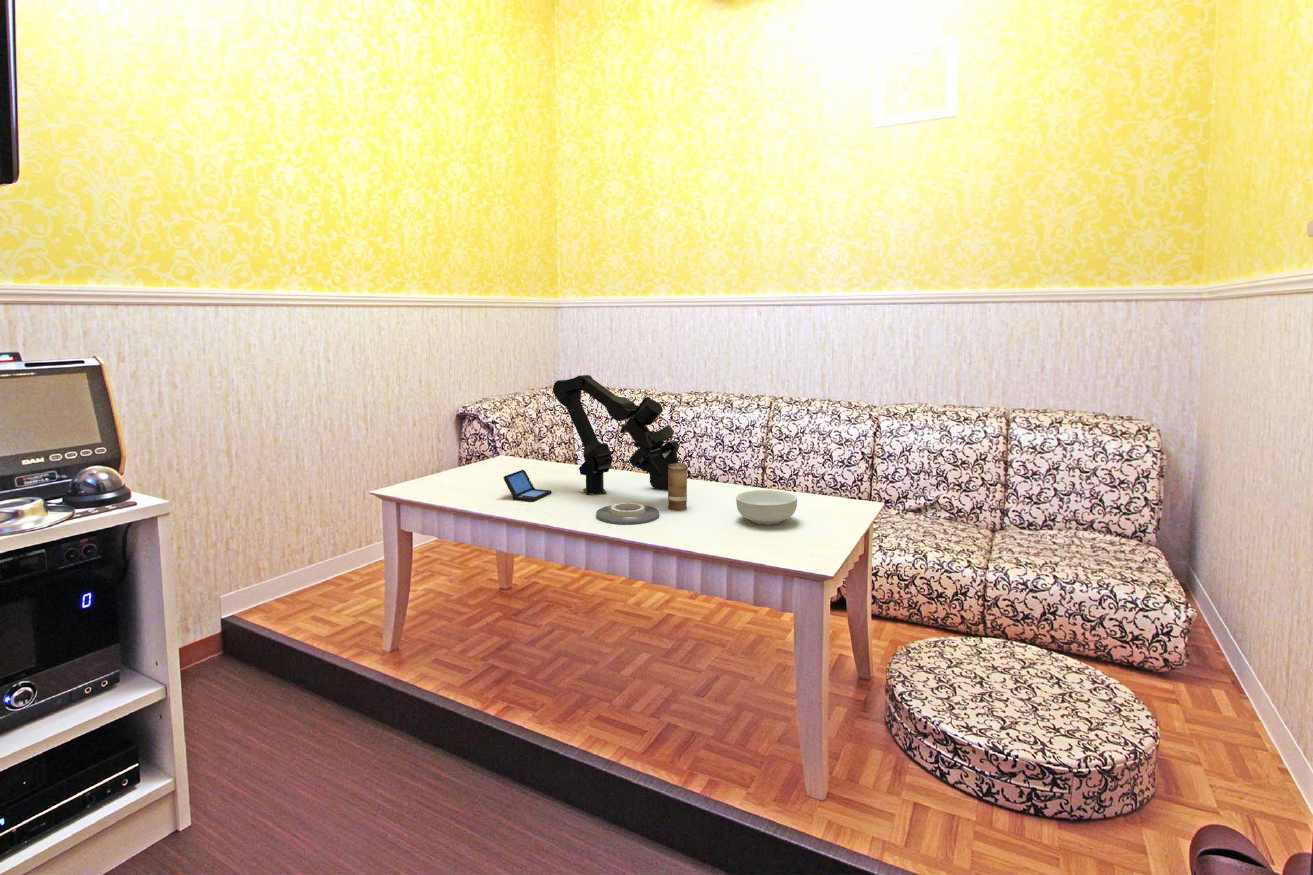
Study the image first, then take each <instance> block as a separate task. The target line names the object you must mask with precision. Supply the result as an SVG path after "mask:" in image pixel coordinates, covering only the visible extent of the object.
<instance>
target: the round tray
mask: <svg viewBox="0 0 1313 875" xmlns="http://www.w3.org/2000/svg"><path fill="white" fill-rule="evenodd" d="M595 514H596V515H595V516H596V519H597V520H599V521H601V522H604V523H607V524H611V525H612V524H613V525H629V526H630V525H641V524H642V525H643V524H647V523H651V522H654V521H656V520H658V519H659V518H660V511H659V510H658V509H657V508H656V507H653V506H650V505H644V504H642V503H641V504H640V503H638V502H637V503H636V502H620V503H619V502H618V503H616V504H612V505H611V504H610V505H608V506H607V505H606V506H604V507H601V508H599V509H598V510H596V512H595Z"/></svg>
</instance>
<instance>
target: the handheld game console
mask: <svg viewBox="0 0 1313 875" xmlns="http://www.w3.org/2000/svg"><path fill="white" fill-rule="evenodd" d="M530 479H531V478H530V477H529V475H528V474H527V472H526V470H524V469H521V470H518V471H515V472H513V473H509V474H506V475H504V476H503V481H504V483H505V484H506V486H507V488H508V491H509V492H510V494H511V495H512V501H518V500H521V501H520V502H527V501H528V502H529V503H534V502H536V501H539V500H540V499H543V498H545V497H547V496H549V495H551V494H552V493H553V491H552V490H550V489H549V490H548V489H540V488H539V489H538V488H537V489H536V487H535V486H534V485H533V483H532V481H531V480H530ZM528 502H527V503H528Z"/></svg>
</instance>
